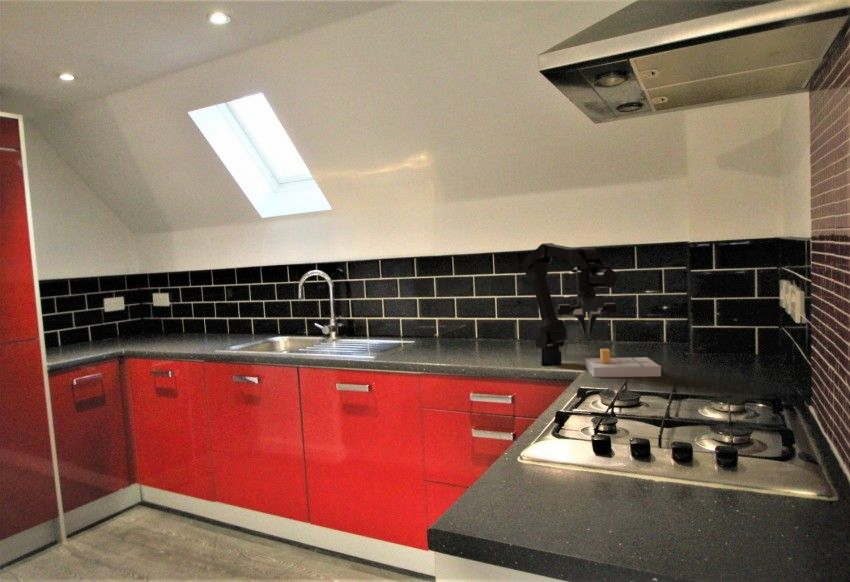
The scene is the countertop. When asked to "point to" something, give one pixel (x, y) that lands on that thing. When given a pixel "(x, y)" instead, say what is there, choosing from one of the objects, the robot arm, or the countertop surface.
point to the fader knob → (605, 355)
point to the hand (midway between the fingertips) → (587, 335)
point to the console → (623, 367)
